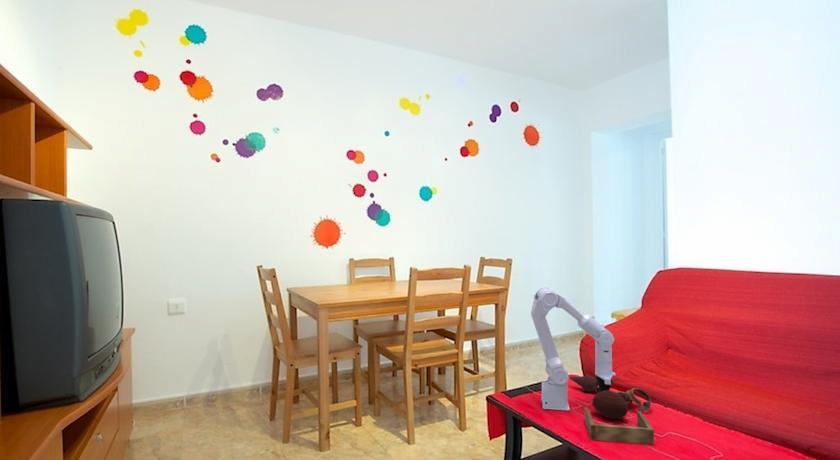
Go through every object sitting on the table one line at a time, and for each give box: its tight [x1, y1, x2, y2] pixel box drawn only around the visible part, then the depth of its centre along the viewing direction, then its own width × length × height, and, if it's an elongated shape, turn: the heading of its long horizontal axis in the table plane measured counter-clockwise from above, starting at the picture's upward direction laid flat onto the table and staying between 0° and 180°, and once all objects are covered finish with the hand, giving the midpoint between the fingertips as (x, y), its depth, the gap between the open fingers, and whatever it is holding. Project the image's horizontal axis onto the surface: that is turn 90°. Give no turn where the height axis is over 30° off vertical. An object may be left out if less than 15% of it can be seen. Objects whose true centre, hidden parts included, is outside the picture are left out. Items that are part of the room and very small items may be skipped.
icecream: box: [569, 374, 600, 393], centre depth 176 cm, size 7×7×15 cm
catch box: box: [583, 407, 655, 446], centre depth 140 cm, size 18×14×4 cm
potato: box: [591, 390, 629, 420], centre depth 151 cm, size 9×12×9 cm
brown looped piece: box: [616, 387, 652, 414], centre depth 158 cm, size 12×10×8 cm
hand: (604, 397), depth 161 cm, fingers closed
